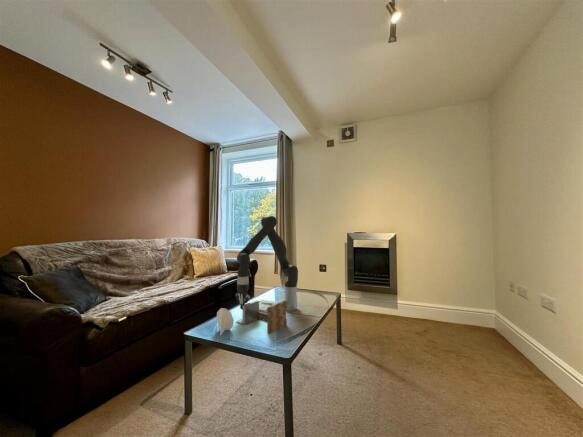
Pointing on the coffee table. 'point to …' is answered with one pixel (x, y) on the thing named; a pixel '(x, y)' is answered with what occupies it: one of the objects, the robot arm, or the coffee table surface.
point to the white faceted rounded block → (224, 320)
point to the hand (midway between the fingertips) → (242, 309)
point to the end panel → (276, 316)
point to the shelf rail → (264, 317)
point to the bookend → (250, 312)
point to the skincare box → (265, 305)
